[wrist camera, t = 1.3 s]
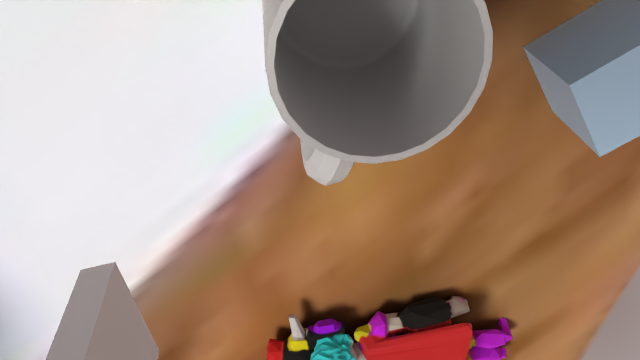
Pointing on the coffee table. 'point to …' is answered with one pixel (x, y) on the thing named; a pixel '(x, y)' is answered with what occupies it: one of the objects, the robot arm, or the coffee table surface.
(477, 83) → the cup
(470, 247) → the coffee table surface
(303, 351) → the toy
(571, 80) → the blue painted block
